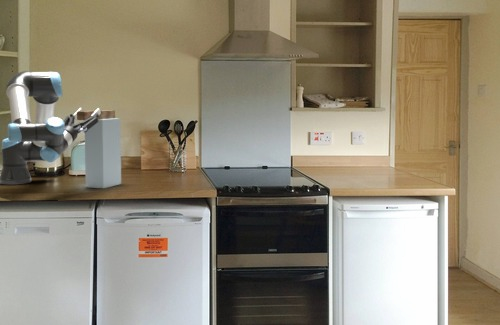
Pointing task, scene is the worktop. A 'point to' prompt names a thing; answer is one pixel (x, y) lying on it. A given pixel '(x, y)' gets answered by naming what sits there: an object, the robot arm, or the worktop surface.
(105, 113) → the rod
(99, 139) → the stand
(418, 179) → the worktop surface
